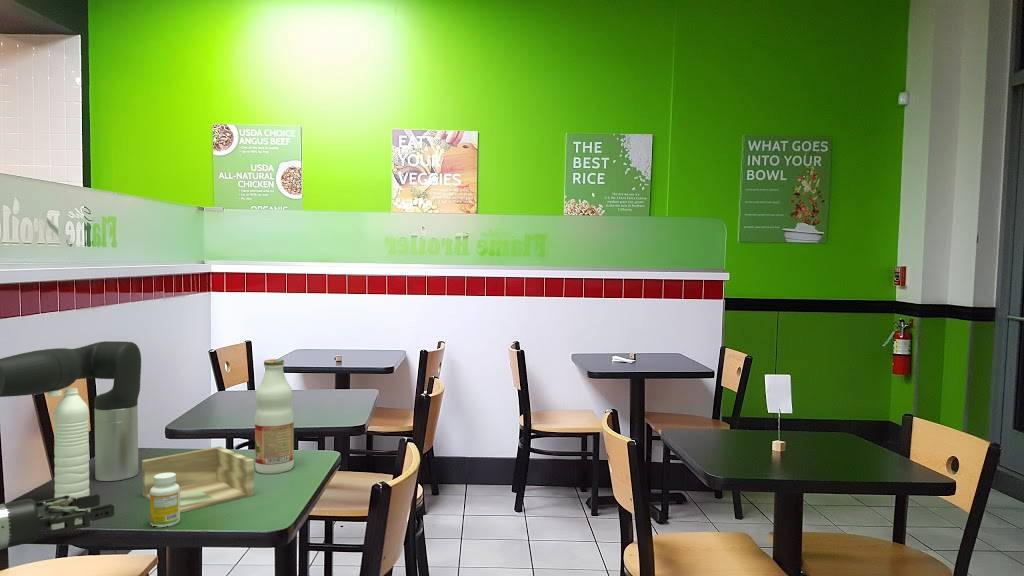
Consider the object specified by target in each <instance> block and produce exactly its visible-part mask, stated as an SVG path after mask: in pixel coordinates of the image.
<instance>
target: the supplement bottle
mask: <svg viewBox="0 0 1024 576" xmlns="http://www.w3.org/2000/svg"><path fill="white" fill-rule="evenodd" d="M175 481H176V474H175V473H161V474H157V475H155V476H154V484H155V486H153V487H152V488H151V490H150V500H149V513H150V514H149V522H150V526H151V525H152V526H151V527H153V526H158V527H157V528H167V526H168V527H172V526H175V525H177V524H178V523H180V521H181V513H180V487H179V485H178V484H176V483H175Z"/></svg>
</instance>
